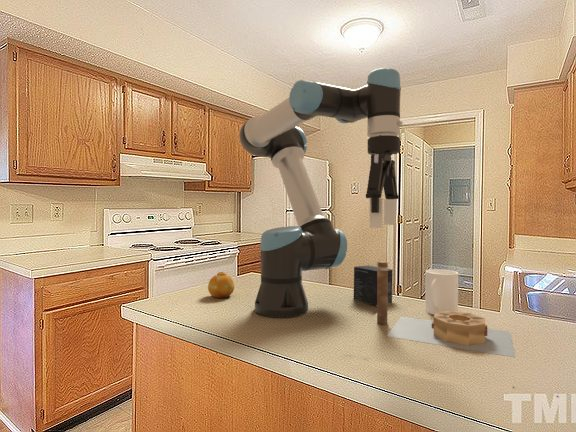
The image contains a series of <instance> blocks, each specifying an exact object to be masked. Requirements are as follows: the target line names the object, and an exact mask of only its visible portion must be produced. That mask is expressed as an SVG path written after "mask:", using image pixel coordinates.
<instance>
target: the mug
mask: <svg viewBox="0 0 576 432" xmlns="http://www.w3.org/2000/svg"><path fill="white" fill-rule="evenodd" d="M424 297H425V300H424V301H425V304H424V305H425V307H424V311H425V312H426V313H428V314H429V315H433V316H434V315H435V313H436V312H443V311H458V312H459V272H458V271H456V270H451V269H442V268H429V269H426V270H425V296H424Z"/></svg>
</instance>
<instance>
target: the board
mask: <svg viewBox="0 0 576 432" xmlns="http://www.w3.org/2000/svg"><path fill="white" fill-rule="evenodd" d="M432 322H433V320H432V319H431V320H430V319H421V318H415V317H407V316H400V318H399V319H398V320H397V321H396V322H395V324H394V326H393V327H392V328H391V329H390V331H389V332H388V333H387V335H386V337H387V338H395V339H401V340H406V341H413V342H418V343H425V344H431V345H437V346H442V347H449V348H454V349H455V348H456V349H460V350H462V349H463V350H466V351H474V352H479V353H486V354H493V355H497V356H498V355H499V356H505V357H510V358H516V355H515V351H514V350H515V349H514V345H513V339H512V334H511V331H509V330H503V329H495V328H488V327H487V336H485V343H481V344H474V345H464V344H458V343H451V342H446V341H444V340H442V339H440V338H438V337H436V336H434V329H433V328H432Z"/></svg>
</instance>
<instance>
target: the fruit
mask: <svg viewBox="0 0 576 432" xmlns="http://www.w3.org/2000/svg"><path fill="white" fill-rule="evenodd" d="M207 290H208V292H209V294H210V296H212V297H214V298H218V299H223V298H224V297H225V298H228V297H230V296H231V295H232V294H233V293H234V290H235V283H234V280H233V279H232V277H231V276H230V275H228V274H227V273H226V272H224V271H220V272H217V274H216V275H213V276H212V277H211V278H210V280H209V281H208V285H207Z"/></svg>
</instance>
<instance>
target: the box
mask: <svg viewBox="0 0 576 432" xmlns="http://www.w3.org/2000/svg"><path fill="white" fill-rule="evenodd" d="M352 297H353V300H355V301H357V302H358V301H359V302H361V303H365V304H368V305H369V304H370V305H371V306H372V305H373V306H376V307H377V266H374V265H369V264H368V265H358V266H354V267H353V296H352ZM388 303H389V304H390V303H391V304H392V303H393V268H392V269H391V268H388Z"/></svg>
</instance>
